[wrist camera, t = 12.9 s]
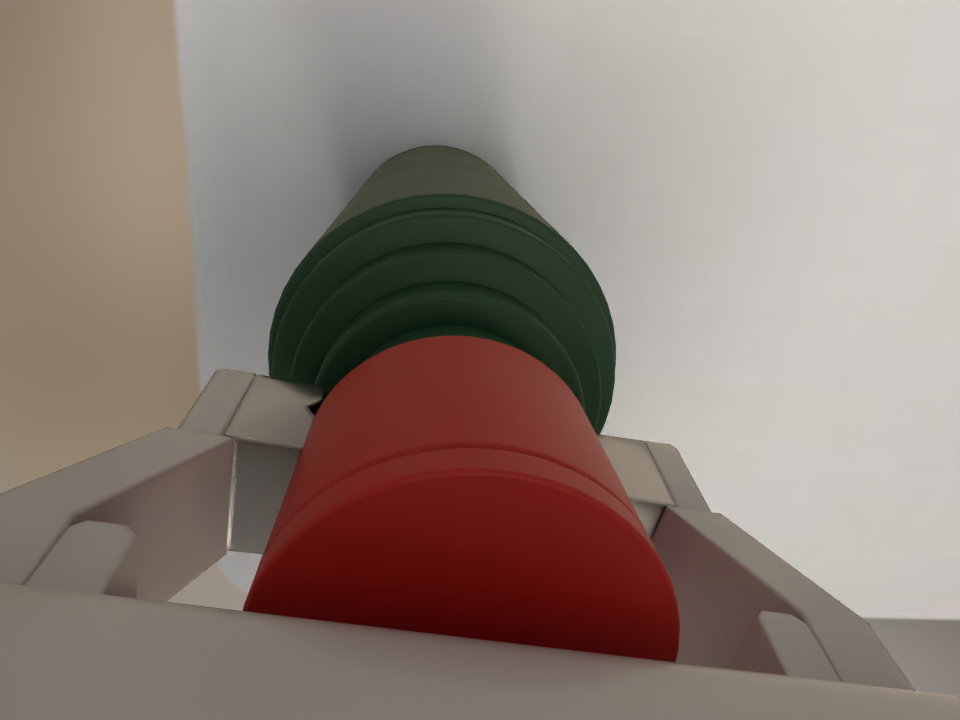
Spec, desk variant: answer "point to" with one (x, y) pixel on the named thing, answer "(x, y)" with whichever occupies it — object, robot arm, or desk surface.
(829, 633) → the robot arm
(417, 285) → the bottle
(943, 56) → the desk surface
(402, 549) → the cap
